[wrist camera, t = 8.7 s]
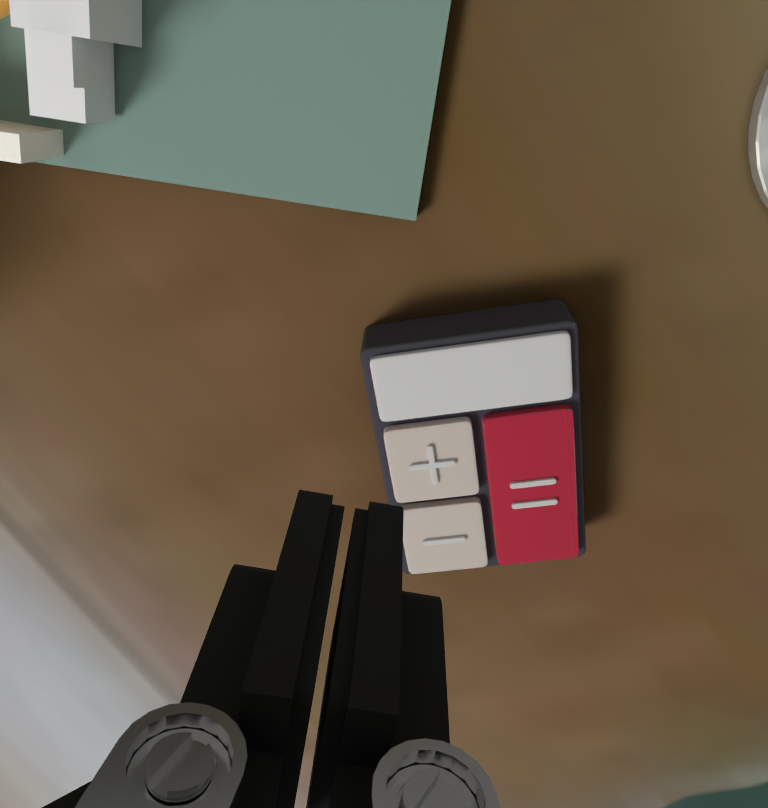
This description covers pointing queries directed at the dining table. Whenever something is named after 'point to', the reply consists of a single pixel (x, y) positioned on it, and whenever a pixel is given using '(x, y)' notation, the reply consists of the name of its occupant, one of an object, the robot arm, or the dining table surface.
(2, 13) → the ball
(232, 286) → the dining table surface
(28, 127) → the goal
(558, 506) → the calculator
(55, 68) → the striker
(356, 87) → the pitch
